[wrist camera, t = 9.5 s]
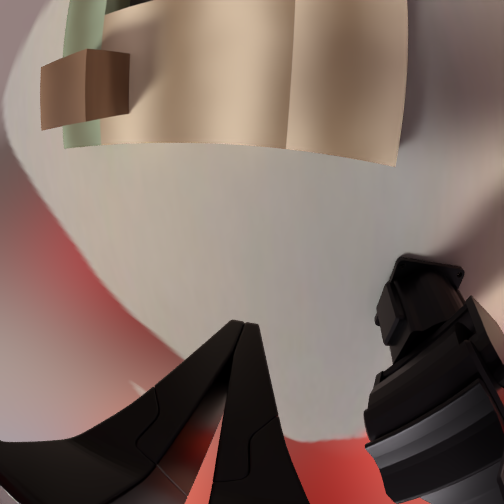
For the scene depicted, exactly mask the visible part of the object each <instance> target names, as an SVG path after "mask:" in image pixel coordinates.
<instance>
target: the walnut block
mask: <svg viewBox="0 0 504 504" xmlns="http://www.w3.org/2000/svg"><path fill="white" fill-rule="evenodd" d="M129 70H130V54H129V53H123V52H115V51H107V50H97V49H84V50H82V51H79V52H76V53H74V54H71V55H68V56H66V57H64V58H61V59H59V60H56V61H54V62H52V63H50V64H47V65H45V66H43V67H41V83H40V106H41V129H42V130H47V129H51V128H56V127H60V126H65V125H71V124H76V123H82V122H87V121H92V120H97V119H102V118H107V117H113V116H118V115H124V114H129Z"/></svg>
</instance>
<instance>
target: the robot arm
mask: <svg viewBox="0 0 504 504" xmlns="http://www.w3.org/2000/svg"><path fill="white" fill-rule="evenodd" d="M402 263H404V265H403V266H400V264H402ZM459 272H460V273H459ZM458 273H459V274H458ZM457 274H458V275H457ZM464 274H465V273H464V270H463V269H462V268H461V267H458V266H452V265H446V264H440V263H434V262H428V261H422V260H416V259H410V258H404V257H401V258H399V259H398V260H397V261H396V263H395V266H394V269H393V271H392V274H391V277H390V280H389V282H387V283H386V284H385V286H384V289H383V292H382V295H381V297H380V300H379V302H378V305H377V308H376V309H377V314H376V316H375V324H376V325H377V326H380V328H381V333H382V338H383V343H384V344H385V345H386V346H390V351H391V356H392V362H393V365H392V366H391V367H389V368H388V369H387V370H385V371H382V372H380V373H379V374H377V375H376V379H375V383H374V387H373V390H372V392H371V393H370V396H369V402H368V409H366V410H365V411H364V423H365V428H366V432H367V435H368V438H369V440H370V442H369V443H367V444H365V449H366V450H367V451H368V452H369V454H371V456H372V457H373V458H374V460H375V462H376V464H377V466H378V468H379V470H380V473H381V476H382V479H383V483H384V487H385V491H386V494H387V495H388V496H389V497H390V498H391V499H392V500H393V502H395V503H396V504H399V503H403V502H406V501H409V500H413V499H416V498H419V497H420V498H422V499H423V500H425V501H427V502H429V503H431V504H504V334H503V332H502V330H501V329H500V327H499V325H498V324H497V322H496V321H495V320H494V319H493V318H492V317H491V316H490V315H489V313H488V312H487V311H486V310H485V309H484V308H483V307H482V306H481V305H480V304H479V303H478V302H477V301H476V300H475V299H474V298H473V296H470V297H469V298H468V299H467V300H466V301H465V300H464V298H463V297H462V295H461V293H460V291H459V290H458V288H459V286H460V283H461V281H462V279H463V277H464ZM223 412H224V415H223ZM222 415H223V421H222V427H221V433H220V439H219V445H218V451H217V458H216V464H215V471H214V477H213V484H212V489H211V494H210V499H209V504H310V503H309V501H308V499H307V497H306V494H305V492H304V490H303V487H302V485H301V482H300V480H299V478H298V475H297V473H296V470H295V468H294V466H293V463H292V461H291V458H290V455H289V452H288V449H287V447H286V443H285V440H284V436H283V432H282V428H281V424H280V419H279V417H278V411H277V406H276V402H275V397H274V393H273V388H272V384H271V379H270V374H269V370H268V365H267V360H266V356H265V351H264V347H263V342H262V337H261V333H260V328H259V325H258V324H255V323H249V322H246V323H244V322H243V321H238V320H230V321H229V322H228V323H227V324H226V325H225V326H224V327H222V328H221V329H220V330H219V331H218V332H217V333H216V334H215V335H213V336H212V337H211V338H210V339H209V340H208V341H206V342H205V343H204V344H203V345H202V346H201V347H200V348H198V349H197V350H196V351H195V352H194V353H193V354H191V355H190V356H189V357H188V358H187V359H186V360H184V361H183V362H182V363H181V364H180V365H179V366H177V367H176V368H175V369H174V370H173V371H171V372H170V373H169V374H168V375H167V376H166V377H164V378H163V379H162V380H161V381H159V382H158V383H157V384H156V385H155V387H152V388H151V389H150V390H148V391H147V392H146V393H145V394H143V395H142V396H141V397H140V398H138V399H137V400H136V401H134V402H133V403H132V404H130V405H129V406H127V407H126V408H124V409H123V410H121V411H120V412H118V413H116V414H115V415H113V416H111V417H110V418H108V419H106V420H105V421H103V422H101V423H100V424H98V425H96V426H94V427H93V428H91V429H89V430H87V431H86V432H84V433H82V434H80V435H77V436H75V437H72V438H69V439H64V440H53V441H38V442H3V441H1V440H0V504H184V503H185V501H186V499H187V496H188V495H189V492H190V490H191V488H192V486H193V483H194V481H195V479H196V476H197V474H198V472H199V470H200V467H201V465H202V462H203V460H204V458H205V455H206V453H207V451H208V448H209V446H210V444H211V441H212V439H213V437H214V434H215V432H216V429H217V427H218V424H219V422H220V420H221V417H222Z"/></svg>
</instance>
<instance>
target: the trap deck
mask: <svg viewBox="0 0 504 504" xmlns="http://www.w3.org/2000/svg"><path fill="white" fill-rule="evenodd" d="M84 49H97V50H107V51H115V52H123V53H129V54H130V70H129V114H124V115H118V116H113V117H107V118H102V119H97V120H92V121H87V122H82V123H76V124H71V125H65V126H63V141H64V149H66V148H75V147H85V146H97V145H111V144H129V143H215V144H234V145H249V146H261V147H272V148H282V149H291V150H299V151H307V152H315V153H322V154H328V155H335V156H341V157H347V158H353V159H358V160H363V161H369V162H374V163H379V164H383V165H388V166H393V167H395V166H396V160H397V154H398V148H399V142H400V135H401V128H402V120H403V111H404V102H405V91H406V78H407V60H408V9H407V0H70V3H69V9H68V15H67V22H66V29H65V38H64V48H63V58H64V57H66V56H68V55H71V54H74V53H76V52H79V51H82V50H84Z"/></svg>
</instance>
